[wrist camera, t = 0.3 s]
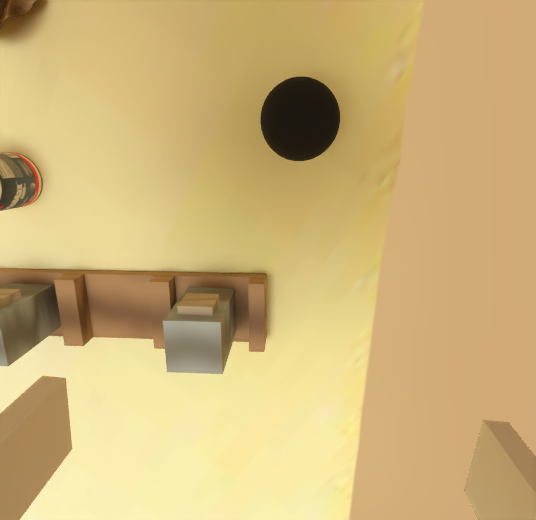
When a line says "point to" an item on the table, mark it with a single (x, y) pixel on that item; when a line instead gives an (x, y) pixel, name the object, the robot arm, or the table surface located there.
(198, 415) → the table surface
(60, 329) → the rail
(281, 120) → the black round piece
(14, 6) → the mushroom
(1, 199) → the pill bottle
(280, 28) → the table surface
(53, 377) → the robot arm
